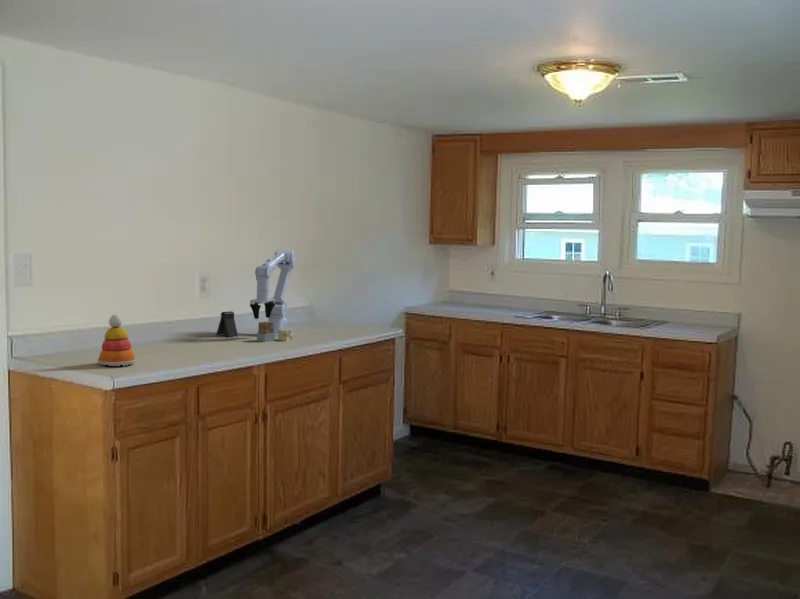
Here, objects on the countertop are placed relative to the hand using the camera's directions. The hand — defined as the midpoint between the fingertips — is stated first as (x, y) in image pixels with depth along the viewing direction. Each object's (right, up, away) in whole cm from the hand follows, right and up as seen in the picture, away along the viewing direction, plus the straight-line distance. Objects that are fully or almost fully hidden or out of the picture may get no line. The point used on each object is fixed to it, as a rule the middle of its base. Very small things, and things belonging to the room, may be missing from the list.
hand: (262, 318), depth 392 cm
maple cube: (+11, -11, -2) cm, 16 cm away
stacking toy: (-42, -16, -81) cm, 93 cm away
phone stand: (-18, -9, +4) cm, 21 cm away
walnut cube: (+3, -7, -7) cm, 10 cm away
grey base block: (+3, -11, -6) cm, 13 cm away
